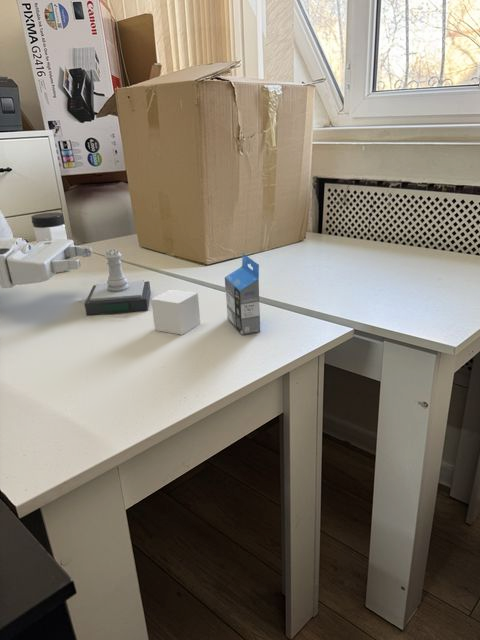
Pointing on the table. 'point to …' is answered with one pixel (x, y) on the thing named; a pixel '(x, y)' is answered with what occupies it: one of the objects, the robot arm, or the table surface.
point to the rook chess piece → (115, 272)
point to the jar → (49, 226)
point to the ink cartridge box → (244, 297)
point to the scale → (118, 299)
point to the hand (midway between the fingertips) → (85, 257)
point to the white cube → (176, 311)
